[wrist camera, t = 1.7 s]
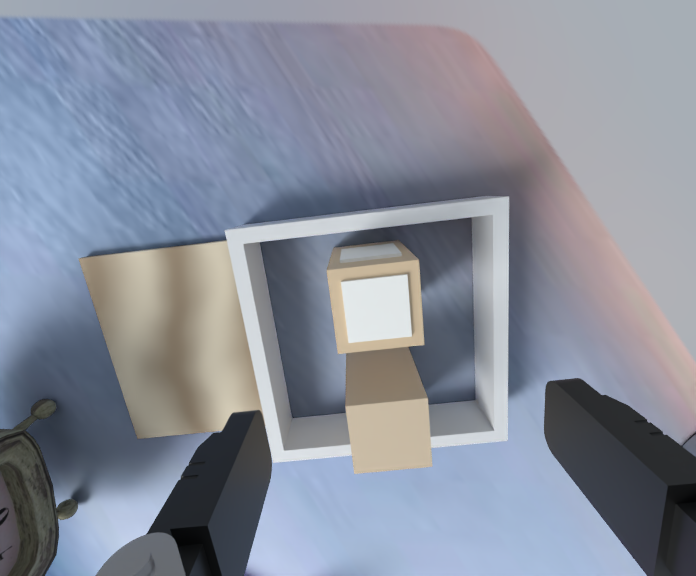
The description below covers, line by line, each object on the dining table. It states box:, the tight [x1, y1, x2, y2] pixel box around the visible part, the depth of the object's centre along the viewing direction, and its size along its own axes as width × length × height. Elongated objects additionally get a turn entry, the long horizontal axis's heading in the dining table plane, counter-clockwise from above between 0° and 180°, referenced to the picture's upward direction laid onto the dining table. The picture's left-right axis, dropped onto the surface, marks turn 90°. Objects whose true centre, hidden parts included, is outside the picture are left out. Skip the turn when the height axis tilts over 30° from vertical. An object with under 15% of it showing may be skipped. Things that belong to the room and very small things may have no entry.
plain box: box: [345, 347, 432, 474], centre depth 25 cm, size 5×5×8 cm
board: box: [79, 240, 265, 439], centre depth 28 cm, size 12×16×1 cm
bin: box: [225, 196, 509, 463], centre depth 26 cm, size 18×18×4 cm
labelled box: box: [327, 240, 424, 354], centre depth 23 cm, size 5×5×8 cm
